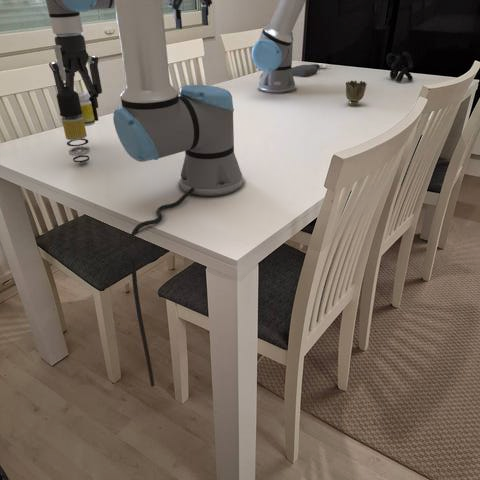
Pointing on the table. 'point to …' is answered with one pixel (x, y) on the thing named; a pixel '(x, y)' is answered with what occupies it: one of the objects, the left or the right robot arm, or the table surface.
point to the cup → (355, 91)
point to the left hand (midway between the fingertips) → (86, 121)
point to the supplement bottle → (86, 109)
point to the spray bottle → (307, 69)
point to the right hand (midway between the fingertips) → (192, 26)
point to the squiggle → (399, 66)
